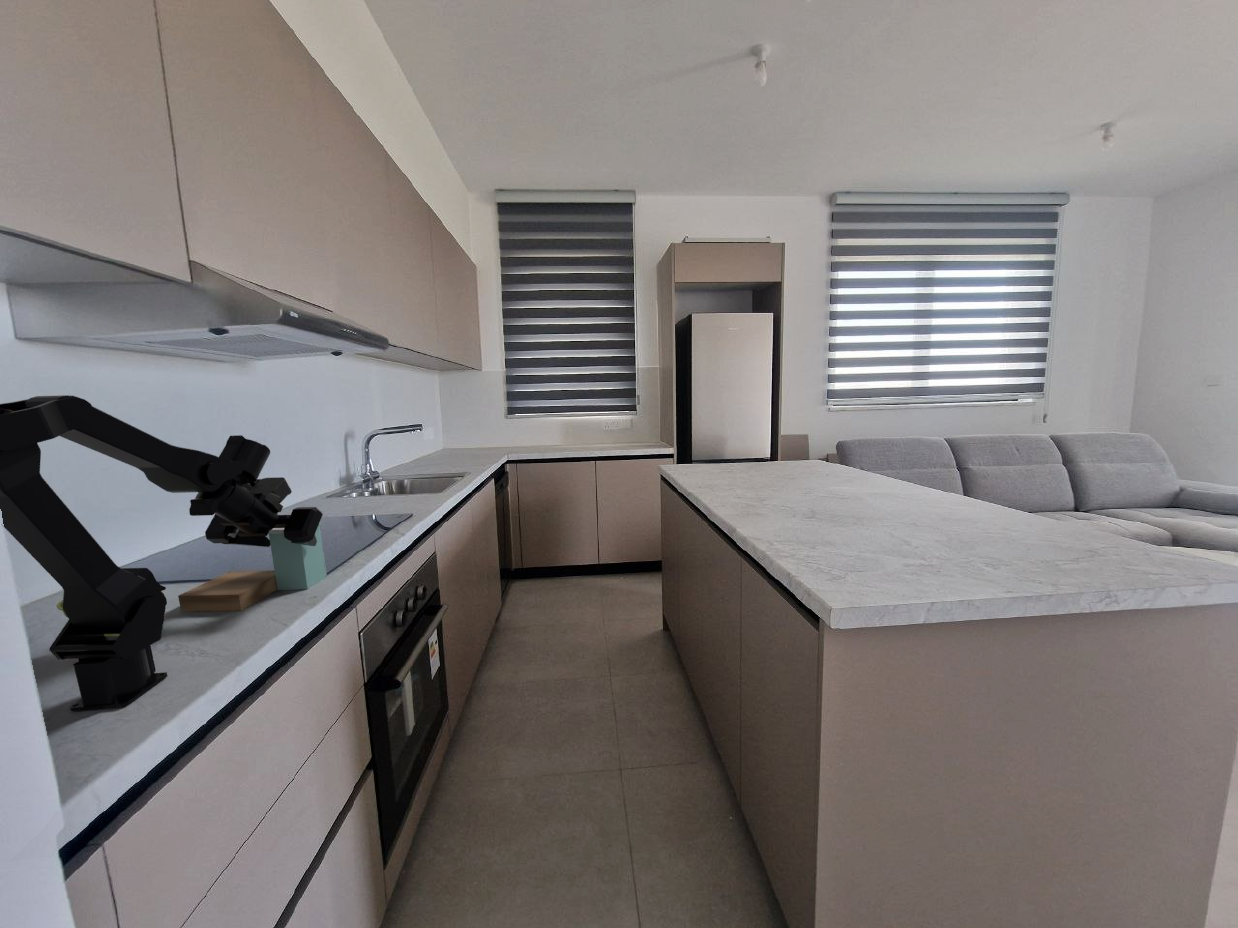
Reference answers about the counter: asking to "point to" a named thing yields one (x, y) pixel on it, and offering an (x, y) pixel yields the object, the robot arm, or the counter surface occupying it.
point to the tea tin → (296, 561)
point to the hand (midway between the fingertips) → (292, 544)
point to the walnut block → (229, 591)
